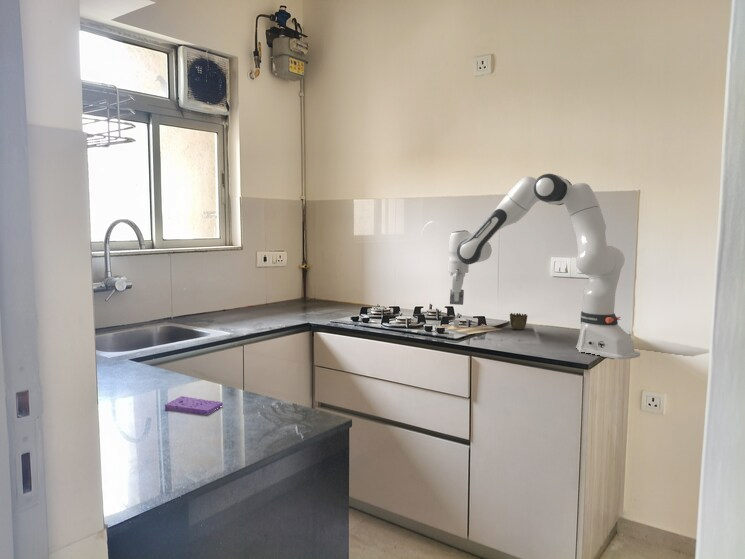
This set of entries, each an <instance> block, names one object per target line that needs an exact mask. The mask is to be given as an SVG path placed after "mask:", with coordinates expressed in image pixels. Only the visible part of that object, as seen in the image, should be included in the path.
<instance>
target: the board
mask: <svg viewBox="0 0 745 559" xmlns="http://www.w3.org/2000/svg"><path fill="white" fill-rule="evenodd" d="M482 325H483V326H479V327H459V328H456V327H454V326H450V324H442V325H437V326H436V328H437V327H439V328H442V329H443V328H444V329H446V330H451V331H454V332H458V333H463V334H467V335H471V334H472V335H474V334H480V333H485V332H494V331H495V332H496V331H501V330H503V329H502V328H500V327H499V328H498V327H494V326H492V325H491V326H490V325H485V324H482Z"/></svg>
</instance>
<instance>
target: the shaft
mask: <svg viewBox="0 0 745 559" xmlns="http://www.w3.org/2000/svg"><path fill="white" fill-rule="evenodd" d="M459 323H461V322H460V319H453V324H454V327H456V328H459Z"/></svg>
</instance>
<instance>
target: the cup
mask: <svg viewBox="0 0 745 559" xmlns="http://www.w3.org/2000/svg"><path fill="white" fill-rule="evenodd" d="M527 320H528V314H526V313H522V314H521V313H520V312H519V313H512V312H511V313H509V322H510V326H511V328H512V329H513V330H516V331H522V330H523V329H525V328H526V326H527Z"/></svg>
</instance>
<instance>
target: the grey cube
mask: <svg viewBox="0 0 745 559" xmlns="http://www.w3.org/2000/svg"><path fill="white" fill-rule="evenodd" d="M449 290H450V292H449V305H458V306H459V305H460V306H463V305H464V298H465V297H464V296H465V294H464V293H465V290H464V289H462V288H461V292H459V301H454V292H452V288H450V289H449Z"/></svg>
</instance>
